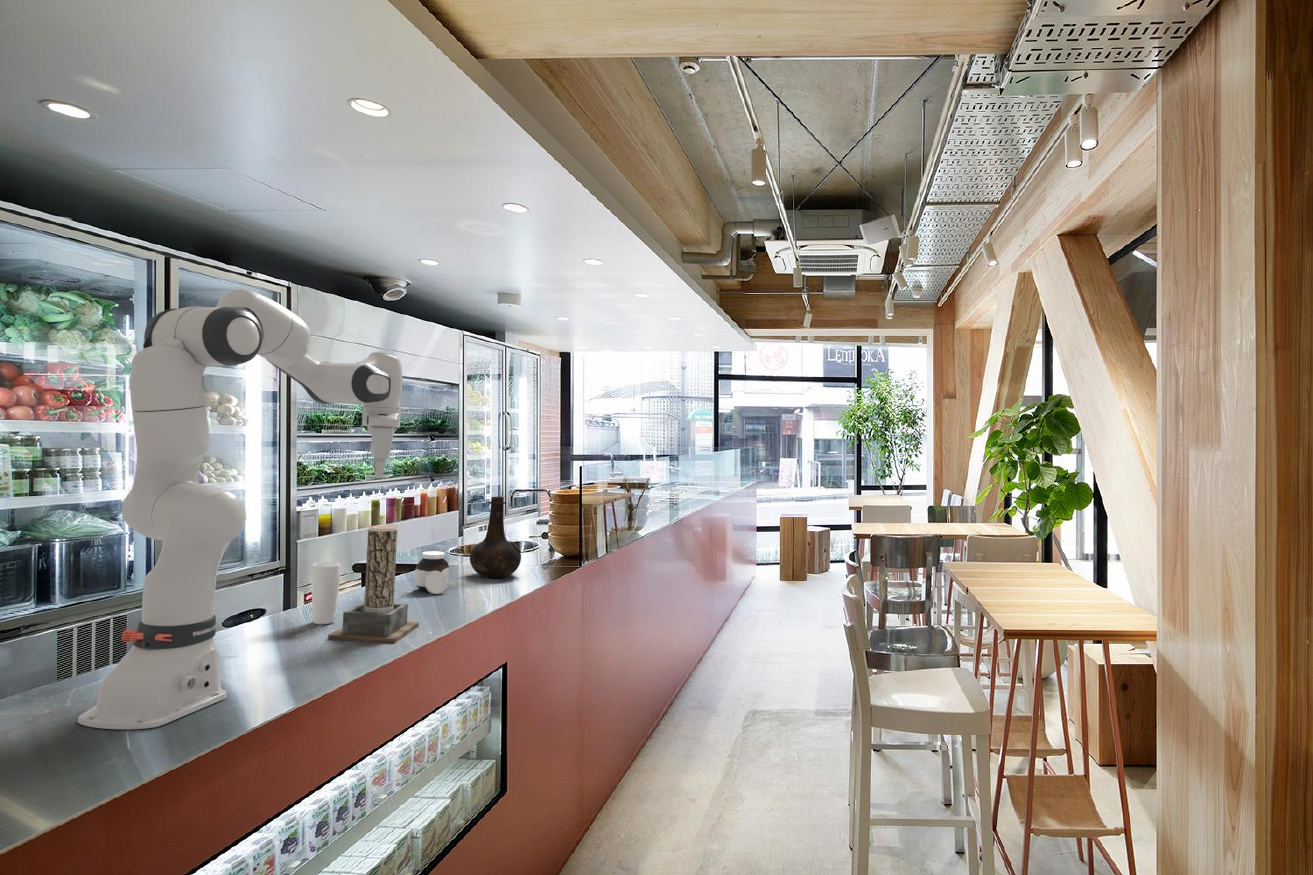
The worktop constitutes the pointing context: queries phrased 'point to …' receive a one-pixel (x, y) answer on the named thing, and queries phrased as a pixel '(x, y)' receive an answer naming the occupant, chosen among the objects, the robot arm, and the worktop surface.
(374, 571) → the paper tube
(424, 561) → the spread jar
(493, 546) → the dark brown vase
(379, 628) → the grey square open box
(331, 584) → the drinking glass
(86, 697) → the worktop surface
